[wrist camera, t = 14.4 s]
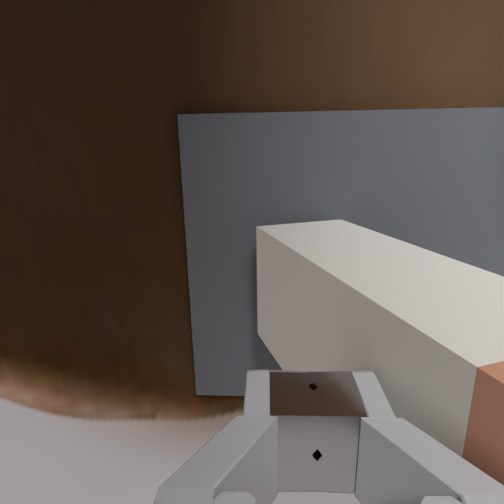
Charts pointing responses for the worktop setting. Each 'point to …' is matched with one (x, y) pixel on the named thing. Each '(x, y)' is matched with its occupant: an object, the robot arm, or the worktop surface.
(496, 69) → the worktop surface
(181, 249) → the worktop surface
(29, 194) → the worktop surface
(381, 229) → the mat
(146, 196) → the worktop surface
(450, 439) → the block
